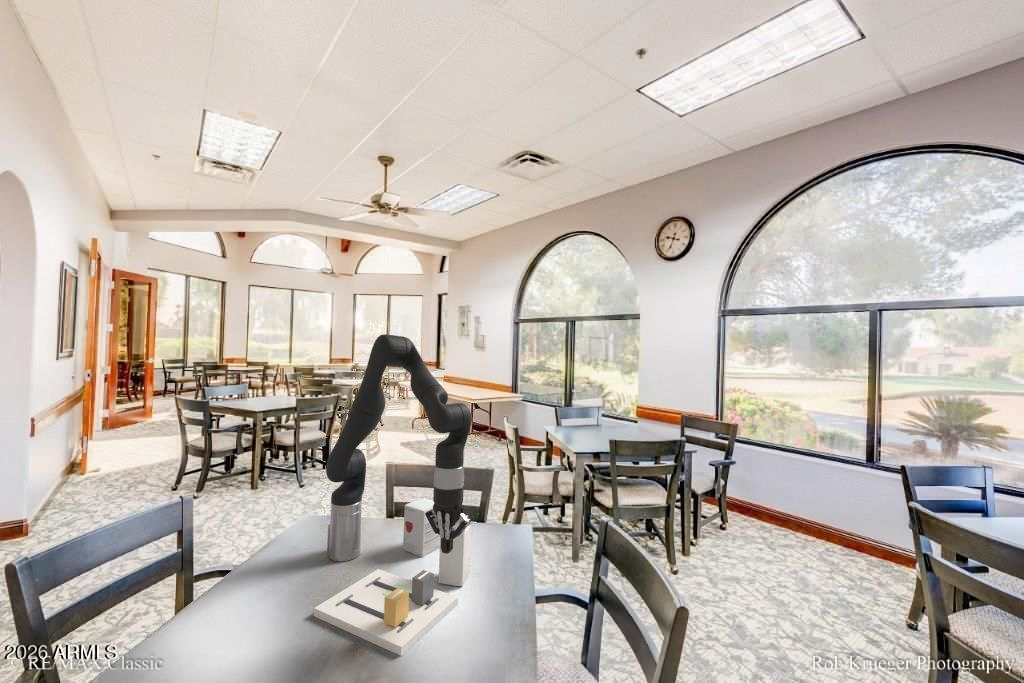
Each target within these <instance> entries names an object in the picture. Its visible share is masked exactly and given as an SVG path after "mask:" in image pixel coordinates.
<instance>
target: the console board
mask: <svg viewBox="0 0 1024 683" xmlns="http://www.w3.org/2000/svg"><path fill="white" fill-rule="evenodd" d="M397 588H399V589H401V590H404V591H407V592H409V603H408V618H406V619H405V620H404V621H403V622H401V623H400V624H399V625H398V626H396V627H393V626H390V625H388V624H386V623H384V601H385V597H386V596H387V595H389V594H390V593H391V592H393V591H394V590H396V589H397ZM458 605H459V597H458V596H455V595H453V594H450V593H449V592H448V593H447V592H444V591H442V590H438V589H437V588H434V592H433V597H432V598H431V599H430V600H428V601H427V602H426V603H425V604H423V605H420V604H417V603H415V602H412V579H408V578H405V577H402V576H400V575H396V574H393V573H390V572H387V571H385V570H382V569H379V568H378V569H376V570H374V571H373V572H370V573H369V574H368V575H367V576H364V577H363V578H360V579H359V580H357V581H356V582H355V583H353V584H351V585H349V586H348V587H346V588H344V589H343V590H342V591H340V592H338V593H337V594H335V595H333V596H331V597H330V598H329V599H327V600H325V601H323V602H322V603H320V604H318V605H316V606H315V607H314V608H313V617H315V618H318V619H319V620H322V621H324V622H326V623H327V624H330V625H333V626H335V627H337V628H339V629H340V630H343V631H345V632H348V633H350V634H352V635H354V636H357V637H359V638H361V639H363V640H365V641H368V642H370V643H372V644H374V645H376V646H379V647H380V648H382V649H385V650H386V651H389V652H391V653H393V654H396V655H398V656H400V657H402V656H403V655H404V654H405V653H406V652H407V651H409V650H410V649H411V648H412V647H414V646H415V645H416V644H417V642H419V641H420V640H421V639H422V638H423V637H424V636H425V635H427V633H428V632H430V631H431V630H432V629H433V628H434V627H435V626H436V625H437V624H439V623H440V621H442V620H443V619H444V618H445V617H446V616H447V615H449V613H450V612H452V611H453V610H454V609H455V608H456V607H457V606H458Z"/></svg>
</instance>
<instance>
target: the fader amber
mask: <svg viewBox="0 0 1024 683" xmlns="http://www.w3.org/2000/svg"><path fill="white" fill-rule="evenodd" d="M408 603H409V592H407V591H404V590H401V589H399V588H397V589H396V590H394V591H393V592H391V593H390V594H389V595H387V596H386V597H385V601H384V623H386V624H388V625H390V626H393V627H396V626H398V625H399V624H400V623H401V622H403V621H404V620H405V619H406V618H408Z"/></svg>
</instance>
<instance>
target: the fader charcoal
mask: <svg viewBox="0 0 1024 683" xmlns="http://www.w3.org/2000/svg"><path fill="white" fill-rule="evenodd" d="M411 581H412V602H415V603H417V604H420V605H423V604H425V603H426V602H427V601H428V600H430V599H431V598H432V597H433V592H434V589H435V588H434V586H435V584H434V583H435V573H433V572H430V571H428V570H424V569H423V570H421V571H420V572H418V573H417V574H415V575H414V576H412V579H411Z"/></svg>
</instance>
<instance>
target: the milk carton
mask: <svg viewBox="0 0 1024 683" xmlns="http://www.w3.org/2000/svg"><path fill="white" fill-rule="evenodd" d="M464 515H465V517H466V518H469V515H468V514H464ZM459 521H460V519H459V520H458V522H457V526H456V528H455V530H456V529H457V527H458V526H459ZM471 540H472V523H471V522H470V524H469V525H468V526H467V527H466V528H465V530H464V531H463V532H462V533H461V534H460V535H459V536H457V537H456V538H455V539H453V549H452V550H451V552H450V553H448V554H445V553H442V550H441V537H440V547H439V560H438V562H439V565H438V584H441V585H448V586H449V585H450V586H453V587H454V586H456V587H464V584H465V583H466V581H467V579H468V577H469V576H470V572H471V571H470V569H471V568H470V567H471V548H472V547H471V543H472V541H471Z"/></svg>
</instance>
